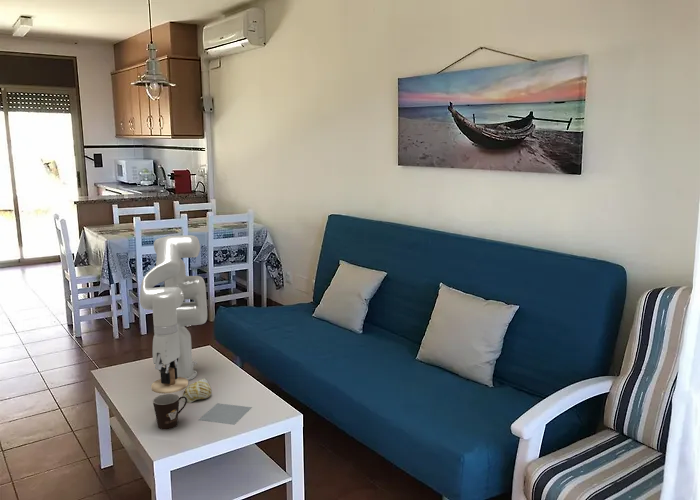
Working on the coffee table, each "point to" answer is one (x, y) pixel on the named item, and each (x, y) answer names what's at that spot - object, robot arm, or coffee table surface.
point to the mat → (225, 413)
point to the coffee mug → (167, 410)
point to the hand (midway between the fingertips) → (169, 380)
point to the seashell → (197, 391)
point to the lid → (173, 386)
